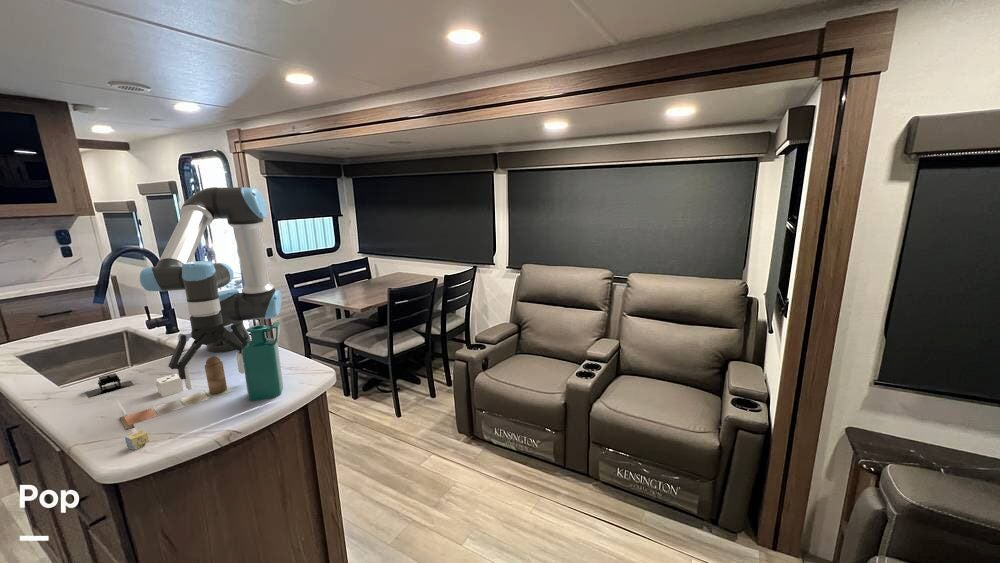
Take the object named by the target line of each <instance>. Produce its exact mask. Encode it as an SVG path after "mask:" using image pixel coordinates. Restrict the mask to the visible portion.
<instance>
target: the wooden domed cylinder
mask: <svg viewBox="0 0 1000 563" xmlns="http://www.w3.org/2000/svg"><path fill="white" fill-rule="evenodd" d="M224 368H225V367H224V363H223V361H222V360H221V358H220V357H218V356H210V357H208V358H207V359H206V361H205V364H204V369H205V374H206V375H205V376H206V382H207V386H208V390H209V392H210V394H219V393H222V392H224V391H226V390H227V386H228V385H227V380H226V375H225V370H224Z"/></svg>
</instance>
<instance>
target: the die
mask: <svg viewBox="0 0 1000 563" xmlns="http://www.w3.org/2000/svg"><path fill="white" fill-rule="evenodd" d="M155 382H156V386H157V391H158V393H159V395H160V396H161V397H162V398H164V397H167V396H170V395H173V394H177V393H180V392H183V391H184V386H183V381H182V379H180V377H179V373H173V374H170V375H167V376H163V377H159V378H156V379H155Z"/></svg>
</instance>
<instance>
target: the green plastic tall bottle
mask: <svg viewBox="0 0 1000 563" xmlns="http://www.w3.org/2000/svg"><path fill="white" fill-rule="evenodd" d="M273 329H275V338H271V337H268V338H267V335H266V334H267V333H268V332H270V331H272V330H273ZM246 331H247V332H248V333H250V339H251V341H249V342H247V343H246V344H245V346H244V347H243V349H242V359H243V366H244V379H245V384H246V391H247V392H246V393H247V397H248V398H247V399H248V401H250V402H258V401H263V400H269V399H275V398H277V397H279V396H281V395H282V393H283V390H284V382H283V375H282V366H281V358H280V352H279V351H280V350H279V345H278V339H279V336H280V332H281V323H280V321H279V322H278V321H276V322H275V321H274V323H273V324H271V325H270V326H268V325H265V324H262V325H261V324H259V325H254V326H250V327H248V328H246Z"/></svg>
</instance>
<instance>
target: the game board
mask: <svg viewBox="0 0 1000 563" xmlns="http://www.w3.org/2000/svg"><path fill="white" fill-rule="evenodd" d="M233 391H234V390H233V389H232V388H230V387H229V386H228V385H227V390H226V391H224V392H222V393H219V394H210V392H209V389H206V390H204V392H203V391H200V392H198V393H194V394H191V395H188V396H185V397H182V398H179V399H175V400H172V401H169V402H166V403H164V404H163V403H162V404H159V405H157V406H153V407H152V408H151V407H150V408H147V409H144V410H141V411H137V412H135V413H131V414H126V415H123V416H119V420H120V421H121V422H122V425H123V427H124V428H125V430H126V431H127V430H130V429H133V428H135V424H138V423H141V422H143V421H147V420H150V419H152V418H156V417H157V415H158V416H161V415H165V414H167V413H171V412H174V411H176V410H177V411H178V410H180V409H183V408H185V407H190V406H191V405H195V404H199V403H201V402H204V401H206V400H211V399H213V398H216V397H219V396H222V395H225V394H228V393H231V392H233ZM207 395H208V396H207ZM210 398H211V399H210Z"/></svg>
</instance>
